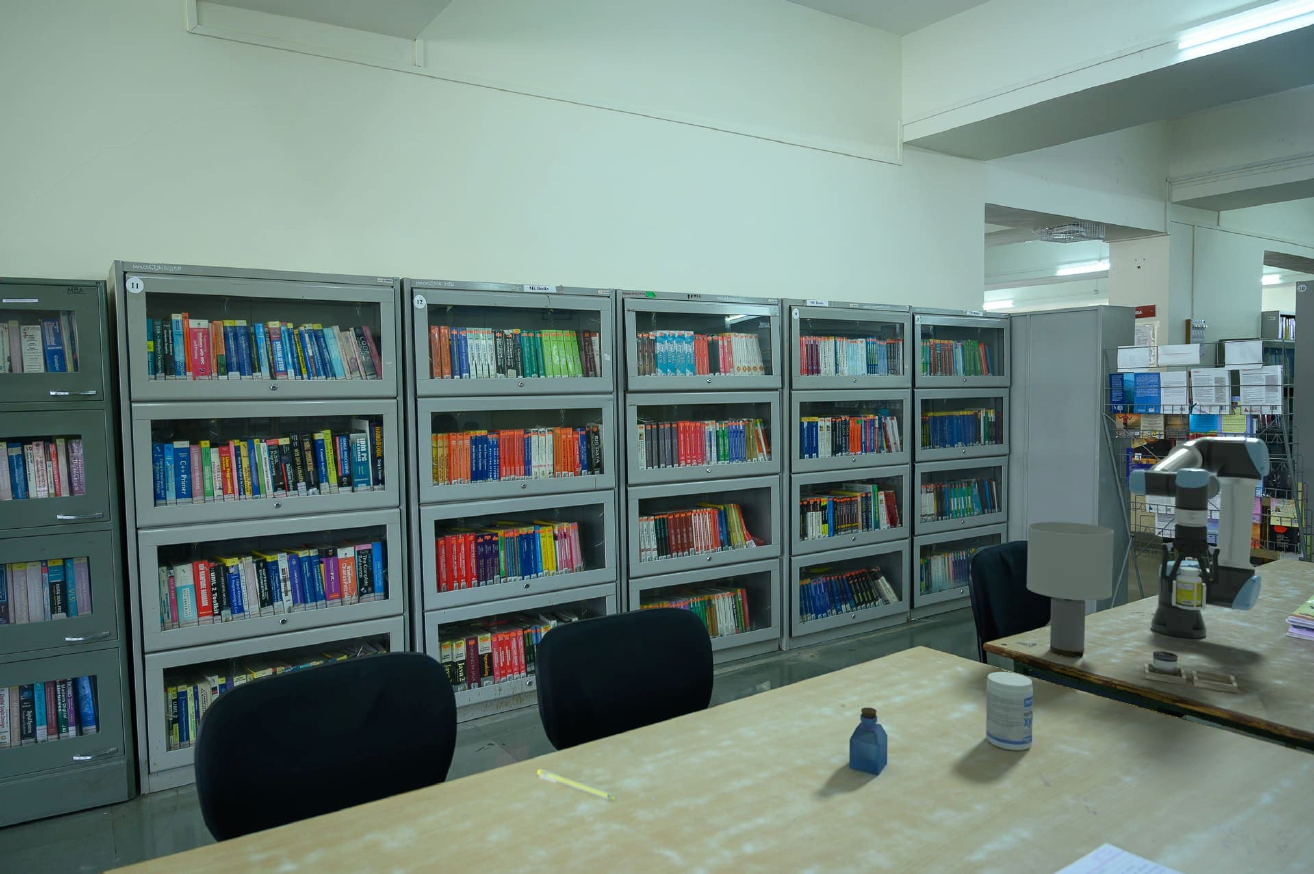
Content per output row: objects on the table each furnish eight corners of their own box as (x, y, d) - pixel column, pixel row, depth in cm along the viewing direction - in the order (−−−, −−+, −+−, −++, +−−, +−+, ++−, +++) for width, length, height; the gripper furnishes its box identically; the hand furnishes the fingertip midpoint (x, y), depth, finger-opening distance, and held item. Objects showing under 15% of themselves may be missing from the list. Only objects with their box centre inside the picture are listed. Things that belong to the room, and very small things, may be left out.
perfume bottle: (878, 775, 162) (879, 718, 161) (849, 768, 165) (849, 712, 165) (887, 763, 167) (887, 708, 167) (858, 756, 171) (859, 702, 170)
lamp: (1066, 637, 253) (1068, 520, 251) (1128, 660, 231) (1132, 532, 229) (1008, 645, 246) (1010, 524, 244) (1067, 669, 224) (1070, 536, 222)
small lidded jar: (1152, 671, 219) (1152, 650, 218) (1176, 674, 216) (1177, 653, 215) (1152, 677, 214) (1153, 655, 213) (1177, 681, 211) (1178, 659, 210)
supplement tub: (1035, 754, 171) (1036, 688, 170) (987, 749, 174) (989, 683, 173) (1028, 736, 180) (1029, 673, 179) (983, 731, 183) (984, 669, 182)
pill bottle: (1193, 604, 223) (1195, 566, 222) (1206, 610, 217) (1208, 571, 216) (1170, 604, 224) (1171, 565, 223) (1182, 610, 218) (1184, 570, 217)
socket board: (1140, 670, 222) (1140, 661, 222) (1236, 685, 211) (1237, 675, 211) (1141, 683, 213) (1141, 673, 213) (1241, 699, 201) (1242, 688, 201)
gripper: (1150, 523, 221) (1148, 604, 222) (1234, 529, 211) (1232, 613, 212) (1150, 519, 227) (1147, 598, 228) (1231, 525, 217) (1229, 607, 219)
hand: (1188, 605), depth 220 cm, fingers closed on pill bottle, 6 cm apart
